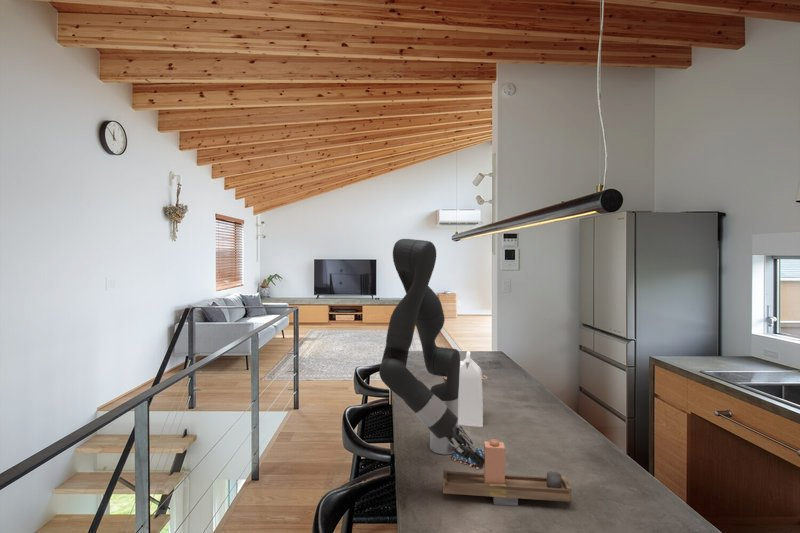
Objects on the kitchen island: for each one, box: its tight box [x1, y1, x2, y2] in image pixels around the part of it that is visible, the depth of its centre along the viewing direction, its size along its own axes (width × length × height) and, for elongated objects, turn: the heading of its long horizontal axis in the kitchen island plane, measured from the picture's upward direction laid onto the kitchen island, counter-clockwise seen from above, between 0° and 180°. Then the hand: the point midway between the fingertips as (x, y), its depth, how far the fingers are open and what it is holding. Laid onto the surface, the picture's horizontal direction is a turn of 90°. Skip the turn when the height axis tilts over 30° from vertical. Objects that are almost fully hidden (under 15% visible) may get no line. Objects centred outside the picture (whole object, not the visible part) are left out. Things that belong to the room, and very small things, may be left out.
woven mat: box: [450, 447, 484, 470], centre depth 133 cm, size 10×11×2 cm
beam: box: [442, 468, 572, 507], centre depth 111 cm, size 6×32×7 cm, turn 84°
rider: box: [483, 438, 506, 484], centre depth 111 cm, size 4×5×11 cm
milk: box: [458, 350, 484, 428], centre depth 164 cm, size 12×12×26 cm
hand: (482, 463), depth 112 cm, fingers closed
